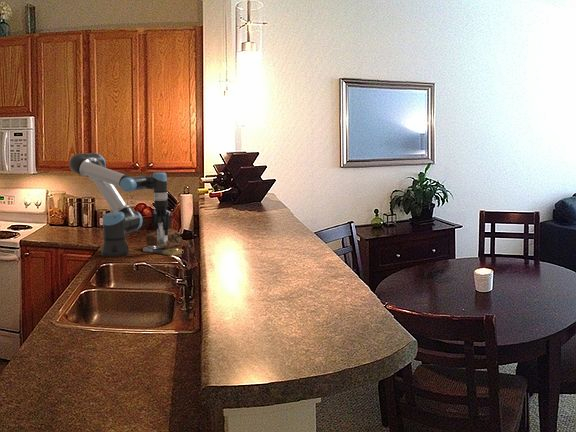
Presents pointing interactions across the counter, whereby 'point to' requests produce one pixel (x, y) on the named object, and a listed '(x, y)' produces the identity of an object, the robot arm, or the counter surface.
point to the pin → (161, 233)
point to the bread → (172, 241)
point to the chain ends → (162, 250)
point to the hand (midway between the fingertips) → (162, 240)
